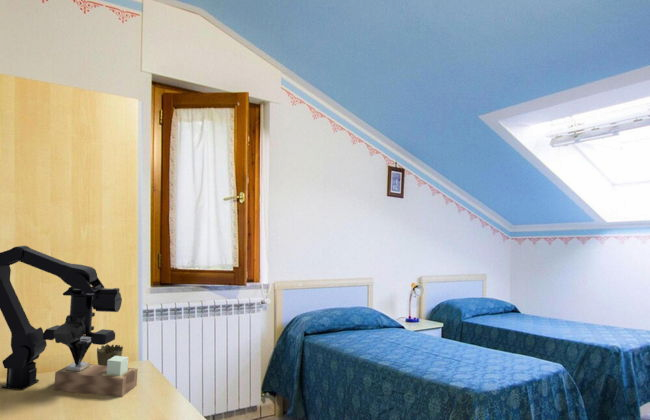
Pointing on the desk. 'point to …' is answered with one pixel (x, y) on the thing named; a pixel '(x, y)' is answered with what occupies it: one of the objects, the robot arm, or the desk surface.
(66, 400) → the desk surface
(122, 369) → the sage peg
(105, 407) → the desk surface
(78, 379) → the walnut bar
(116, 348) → the cup
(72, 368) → the steel peg
